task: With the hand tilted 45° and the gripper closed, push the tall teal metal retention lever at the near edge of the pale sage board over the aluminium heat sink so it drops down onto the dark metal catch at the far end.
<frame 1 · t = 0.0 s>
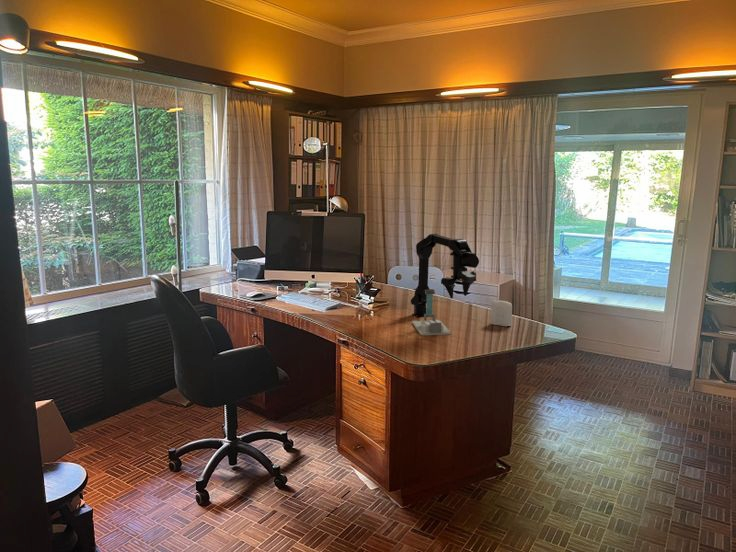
hand: (458, 296, 261), 15 cm above the table, tool pointing down, fingers open, 9 cm apart
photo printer: (501, 325, 264), on the table
retention lever: (429, 303, 260), point 12 cm above the table, hinge at 0.0°
heatsink board: (429, 326, 262), on the table
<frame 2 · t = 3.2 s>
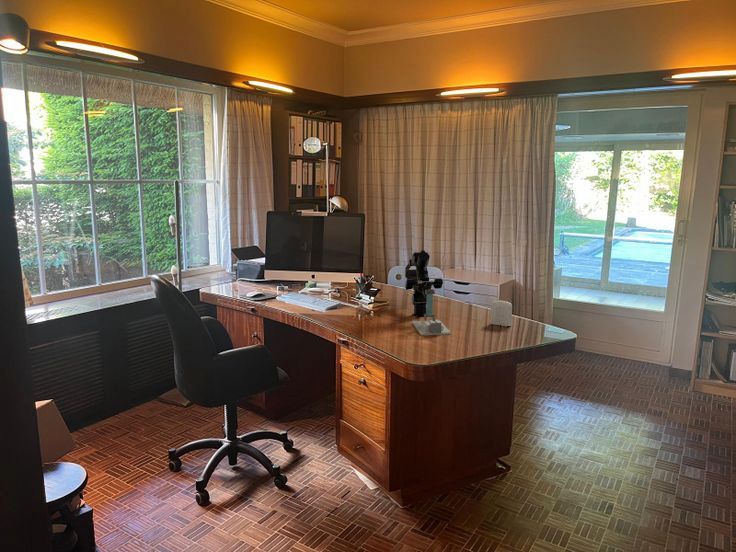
hand: (426, 297, 268), 13 cm above the table, tool tilted 45°, fingers closed
nothing on the table moved.
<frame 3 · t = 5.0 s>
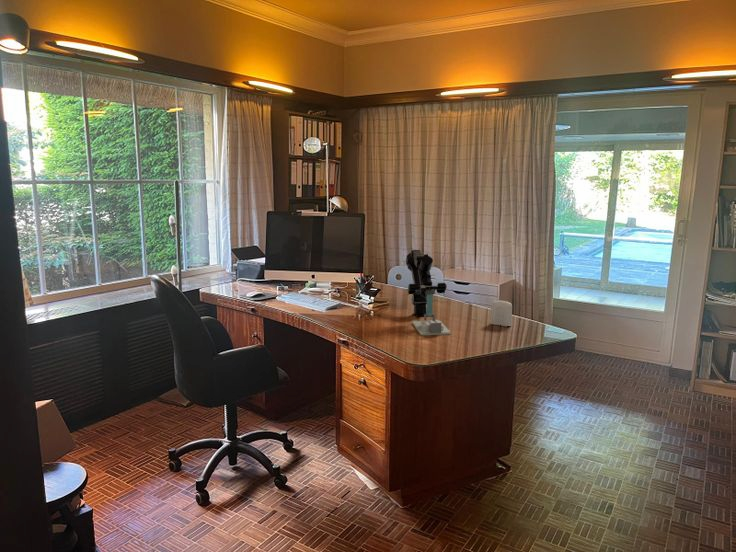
hand: (429, 302, 261), 12 cm above the table, tool tilted 45°, fingers closed, pressing on retention lever
retention lever: (429, 303, 260), point 12 cm above the table, hinge at 1.9°, touching gripper
everything else where it was.
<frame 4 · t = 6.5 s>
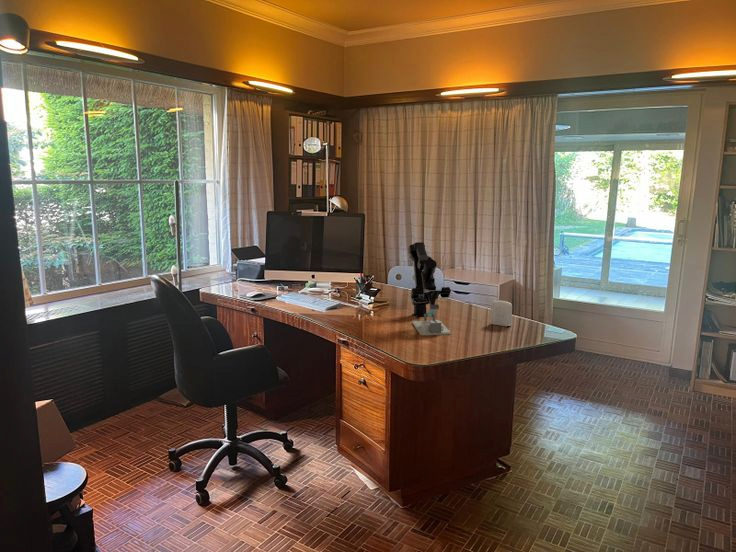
hand: (433, 307, 253), 11 cm above the table, tool tilted 45°, fingers closed
retention lever: (431, 311, 256), point 9 cm above the table, hinge at 56.5°, touching gripper
everything else where it was.
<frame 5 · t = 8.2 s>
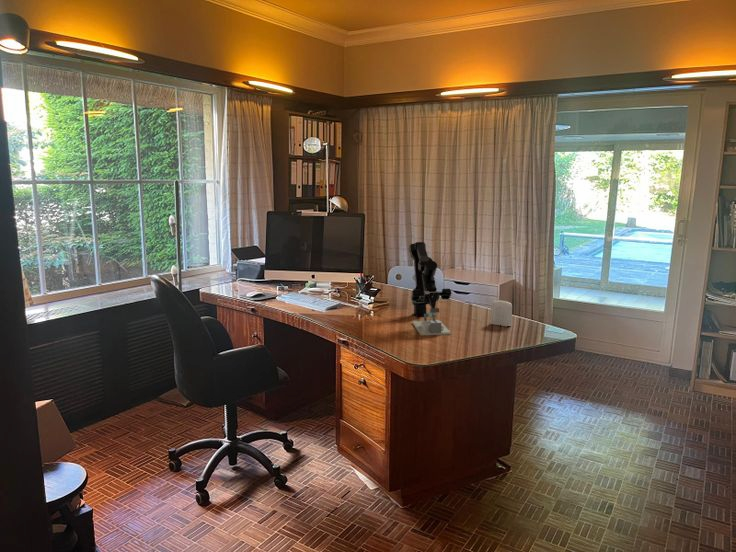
hand: (433, 309, 252), 11 cm above the table, tool tilted 45°, fingers closed
retention lever: (432, 313, 255), point 8 cm above the table, hinge at 64.5°
everything else where it was.
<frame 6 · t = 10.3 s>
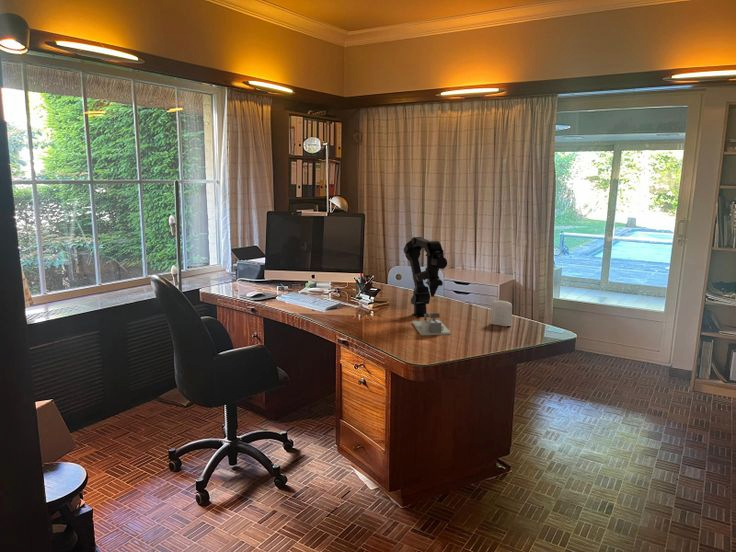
hand: (432, 296, 270), 13 cm above the table, tool pointing down, fingers closed
retention lever: (432, 315, 255), point 7 cm above the table, hinge at 75.5°
everything else where it was.
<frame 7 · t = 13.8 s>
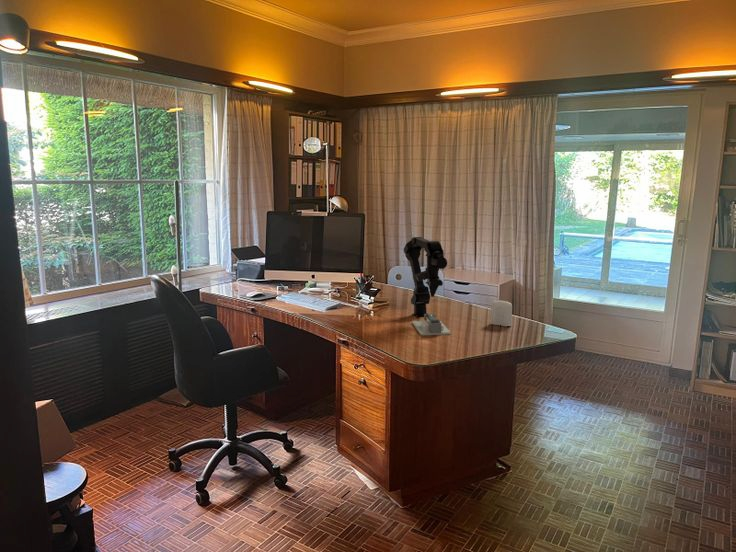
hand: (432, 296, 270), 13 cm above the table, tool pointing down, fingers closed
retention lever: (432, 319, 255), point 6 cm above the table, hinge at 90.1°
everything else where it was.
at the end: retention lever at +90° (first picture: +0°); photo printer moved 0.2 cm from its start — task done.
